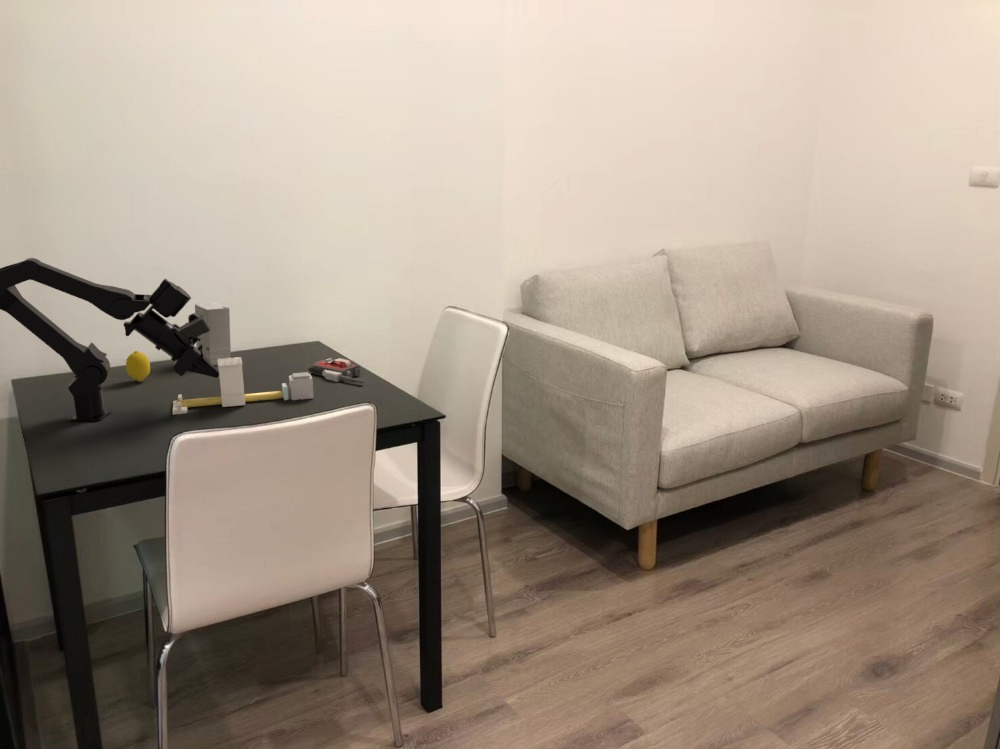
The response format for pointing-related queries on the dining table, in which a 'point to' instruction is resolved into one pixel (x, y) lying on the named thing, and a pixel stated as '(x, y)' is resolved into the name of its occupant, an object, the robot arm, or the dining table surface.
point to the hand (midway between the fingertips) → (218, 375)
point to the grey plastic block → (298, 387)
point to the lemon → (138, 366)
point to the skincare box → (215, 331)
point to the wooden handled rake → (220, 400)
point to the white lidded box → (231, 381)
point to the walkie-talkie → (336, 370)
